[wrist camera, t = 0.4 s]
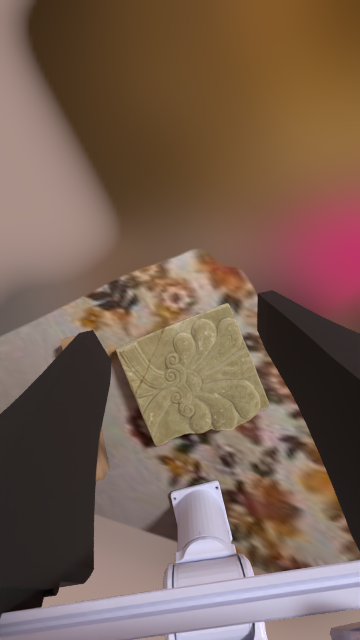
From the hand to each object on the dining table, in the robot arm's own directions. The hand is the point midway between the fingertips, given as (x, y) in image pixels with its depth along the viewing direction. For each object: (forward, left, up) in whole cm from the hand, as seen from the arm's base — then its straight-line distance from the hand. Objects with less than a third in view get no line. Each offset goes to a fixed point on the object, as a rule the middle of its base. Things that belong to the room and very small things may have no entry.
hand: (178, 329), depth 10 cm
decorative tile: (-8, -1, -29) cm, 30 cm away
